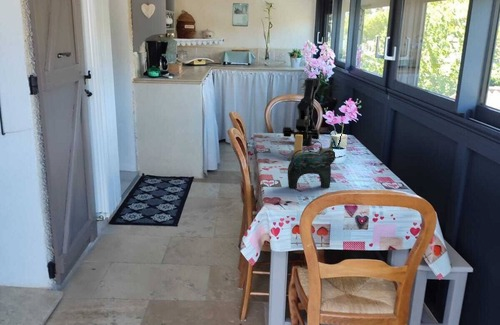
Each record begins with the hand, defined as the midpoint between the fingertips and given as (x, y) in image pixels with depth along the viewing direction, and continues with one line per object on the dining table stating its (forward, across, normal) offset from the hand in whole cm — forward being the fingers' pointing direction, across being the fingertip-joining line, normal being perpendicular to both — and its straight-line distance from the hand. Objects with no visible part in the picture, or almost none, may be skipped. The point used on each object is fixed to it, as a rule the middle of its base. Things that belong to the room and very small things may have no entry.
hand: (298, 146), depth 232 cm
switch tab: (+5, 0, +2) cm, 5 cm away
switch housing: (+2, 0, +7) cm, 7 cm away
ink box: (-4, +19, +14) cm, 24 cm away
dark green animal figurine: (+35, +12, -25) cm, 45 cm away
